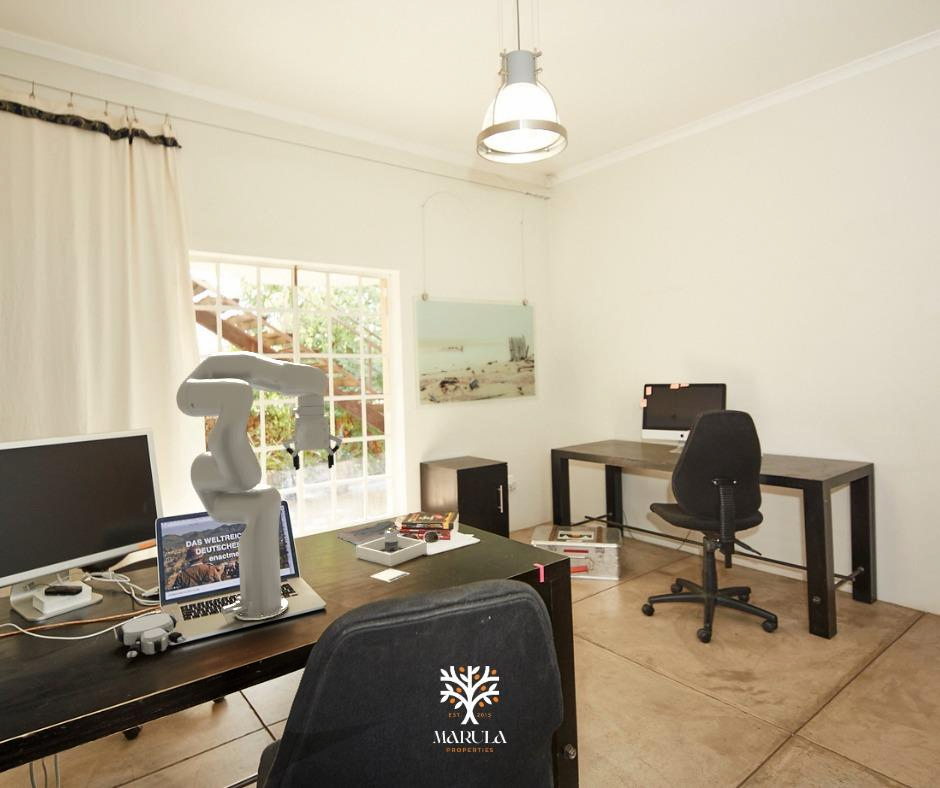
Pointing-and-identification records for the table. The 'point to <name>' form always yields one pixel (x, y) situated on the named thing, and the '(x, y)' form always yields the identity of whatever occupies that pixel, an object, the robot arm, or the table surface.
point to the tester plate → (390, 575)
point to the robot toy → (149, 634)
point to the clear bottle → (391, 540)
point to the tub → (374, 555)
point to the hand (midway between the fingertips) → (314, 468)
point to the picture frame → (367, 533)
